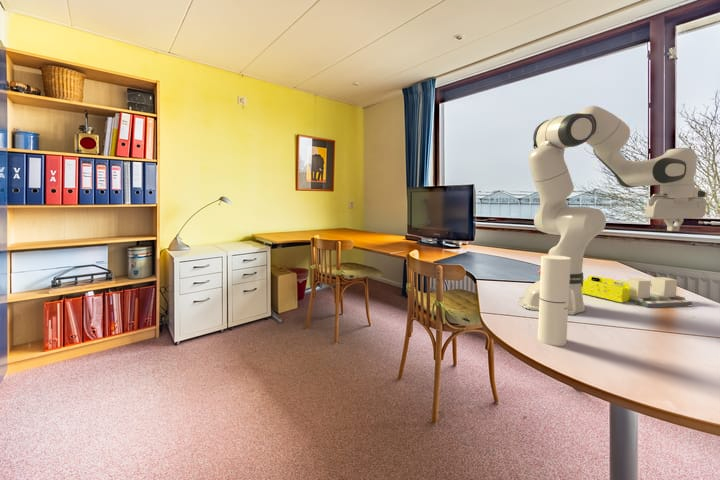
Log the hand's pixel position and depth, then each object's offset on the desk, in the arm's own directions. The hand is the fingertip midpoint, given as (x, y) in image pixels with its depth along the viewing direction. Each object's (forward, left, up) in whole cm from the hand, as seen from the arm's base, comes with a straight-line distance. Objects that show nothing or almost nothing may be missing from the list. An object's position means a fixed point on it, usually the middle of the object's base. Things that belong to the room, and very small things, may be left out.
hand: (673, 230), depth 113 cm
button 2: (+3, +8, -27) cm, 28 cm away
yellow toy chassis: (-18, +7, -30) cm, 35 cm away
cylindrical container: (-51, -44, -29) cm, 73 cm away
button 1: (-7, +4, -27) cm, 28 cm away
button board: (-2, +5, -29) cm, 30 cm away
